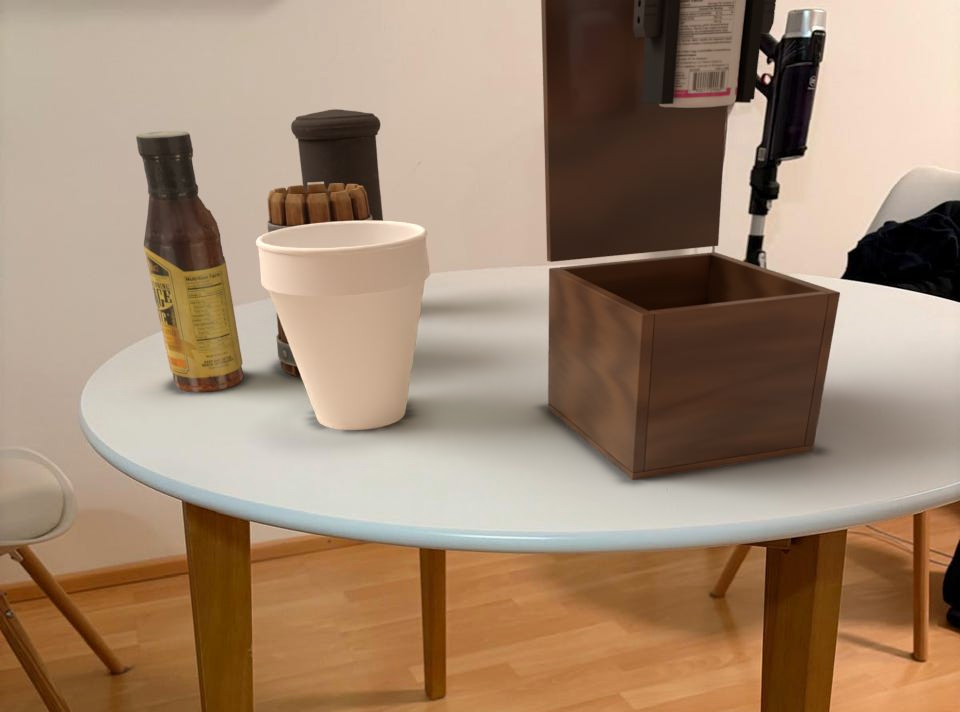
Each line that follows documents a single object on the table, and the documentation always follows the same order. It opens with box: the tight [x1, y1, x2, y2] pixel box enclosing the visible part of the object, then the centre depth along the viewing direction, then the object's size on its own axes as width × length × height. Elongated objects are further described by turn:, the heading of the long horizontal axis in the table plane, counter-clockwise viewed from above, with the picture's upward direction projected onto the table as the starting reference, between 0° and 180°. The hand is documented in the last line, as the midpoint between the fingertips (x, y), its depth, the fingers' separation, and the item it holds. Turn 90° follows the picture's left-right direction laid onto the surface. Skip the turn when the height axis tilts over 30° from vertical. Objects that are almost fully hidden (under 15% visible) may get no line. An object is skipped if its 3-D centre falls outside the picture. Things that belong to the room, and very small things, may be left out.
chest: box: [547, 251, 841, 481], centre depth 65 cm, size 16×14×11 cm
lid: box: [540, 0, 728, 263], centre depth 64 cm, size 16×14×1 cm
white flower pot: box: [255, 220, 431, 431], centre depth 69 cm, size 12×12×14 cm
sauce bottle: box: [135, 130, 244, 393], centre depth 76 cm, size 7×6×20 cm
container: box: [290, 108, 384, 221], centre depth 97 cm, size 9×9×20 cm
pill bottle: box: [659, 0, 746, 108], centre depth 54 cm, size 5×5×8 cm
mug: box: [266, 182, 373, 377], centre depth 83 cm, size 16×11×15 cm
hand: (697, 100), depth 56 cm, fingers closed on pill bottle, 5 cm apart
